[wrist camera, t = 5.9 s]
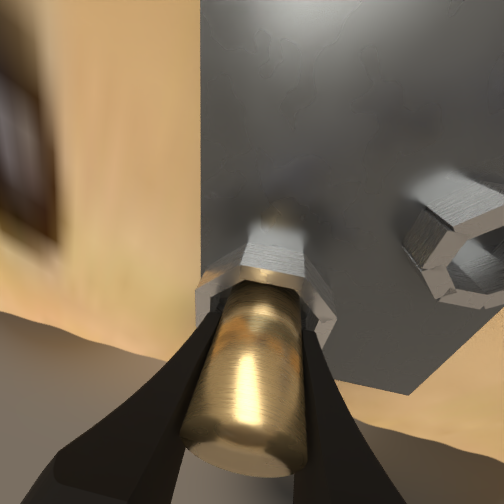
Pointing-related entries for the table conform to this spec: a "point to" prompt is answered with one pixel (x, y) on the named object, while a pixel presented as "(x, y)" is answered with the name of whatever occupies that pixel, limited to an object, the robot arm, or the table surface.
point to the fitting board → (357, 172)
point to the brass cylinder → (252, 387)
